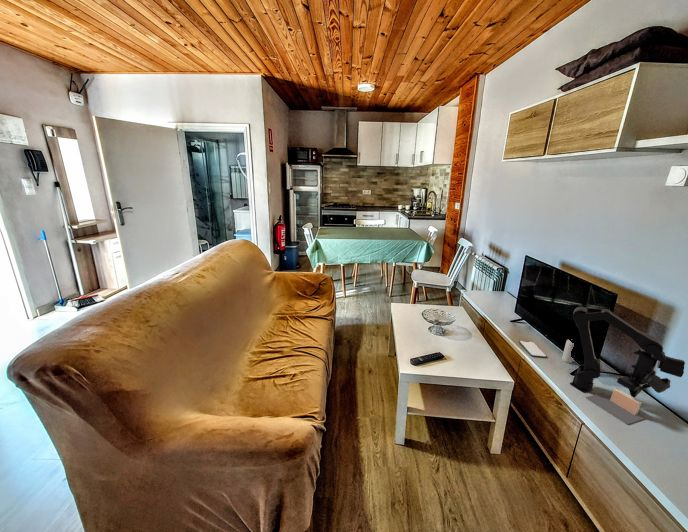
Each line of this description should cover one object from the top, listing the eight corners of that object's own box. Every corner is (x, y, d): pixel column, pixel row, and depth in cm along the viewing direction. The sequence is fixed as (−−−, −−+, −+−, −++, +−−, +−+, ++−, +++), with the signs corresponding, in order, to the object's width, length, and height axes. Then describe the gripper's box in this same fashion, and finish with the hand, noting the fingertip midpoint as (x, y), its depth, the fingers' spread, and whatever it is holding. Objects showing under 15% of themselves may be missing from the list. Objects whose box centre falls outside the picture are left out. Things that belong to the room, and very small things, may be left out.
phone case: (547, 359, 165) (532, 343, 180) (548, 356, 165) (533, 341, 180) (530, 357, 166) (517, 342, 181) (531, 355, 165) (518, 340, 181)
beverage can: (559, 359, 164) (565, 340, 161) (564, 357, 166) (569, 338, 163) (569, 364, 160) (575, 344, 157) (573, 362, 163) (579, 342, 159)
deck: (610, 400, 133) (613, 388, 131) (613, 399, 134) (617, 388, 132) (634, 414, 125) (638, 402, 123) (637, 413, 126) (642, 402, 124)
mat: (585, 398, 134) (585, 397, 134) (603, 393, 138) (603, 392, 138) (627, 424, 120) (627, 423, 120) (645, 418, 124) (646, 417, 124)
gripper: (655, 381, 115) (642, 414, 119) (683, 373, 121) (669, 405, 126) (621, 365, 125) (610, 396, 130) (648, 358, 131) (637, 388, 136)
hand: (632, 397), depth 130 cm, fingers closed
